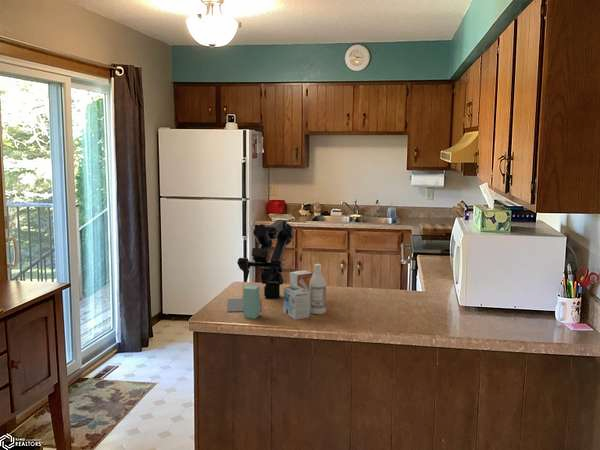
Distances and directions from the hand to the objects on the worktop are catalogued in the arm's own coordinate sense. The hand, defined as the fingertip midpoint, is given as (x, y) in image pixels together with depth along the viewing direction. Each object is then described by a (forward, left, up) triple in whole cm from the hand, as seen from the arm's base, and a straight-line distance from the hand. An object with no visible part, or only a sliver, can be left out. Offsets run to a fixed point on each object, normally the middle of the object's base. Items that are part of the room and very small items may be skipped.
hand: (256, 282), depth 221 cm
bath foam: (-25, +2, -13) cm, 28 cm away
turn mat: (+5, -10, -12) cm, 16 cm away
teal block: (+2, +5, -12) cm, 14 cm away
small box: (-20, -14, -13) cm, 27 cm away
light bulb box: (-16, +5, -13) cm, 21 cm away
